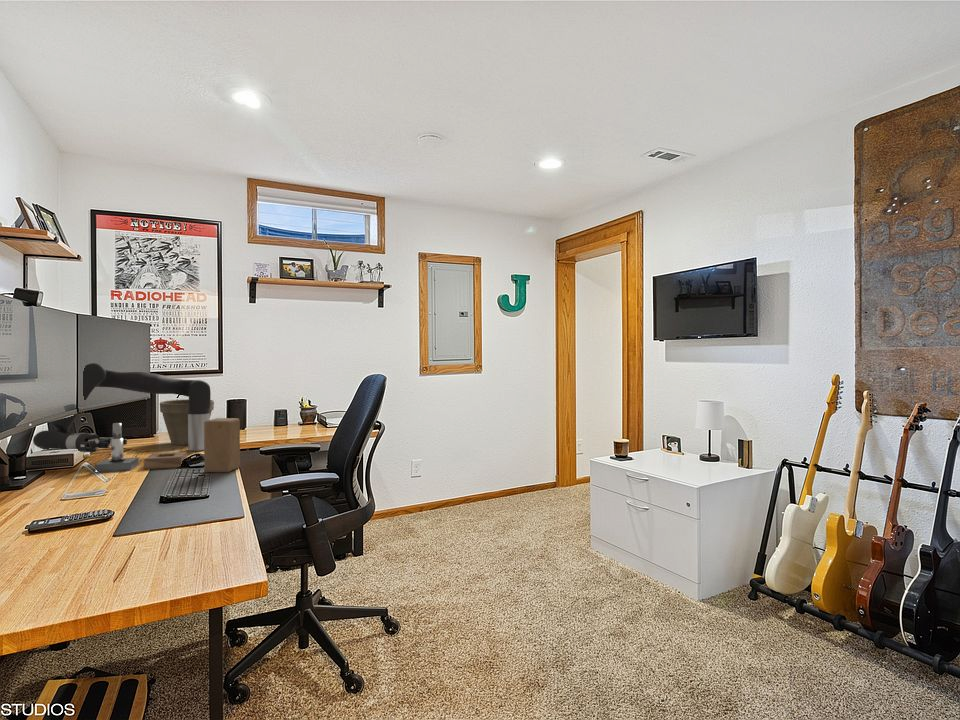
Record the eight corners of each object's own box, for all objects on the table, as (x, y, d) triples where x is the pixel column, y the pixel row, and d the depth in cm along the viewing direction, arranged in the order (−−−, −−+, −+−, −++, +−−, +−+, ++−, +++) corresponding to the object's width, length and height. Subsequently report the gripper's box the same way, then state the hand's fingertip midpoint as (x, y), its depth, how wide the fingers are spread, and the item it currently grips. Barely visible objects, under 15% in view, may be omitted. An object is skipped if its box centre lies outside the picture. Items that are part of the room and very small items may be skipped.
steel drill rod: (113, 467, 218) (112, 423, 218) (124, 467, 219) (124, 422, 219) (110, 469, 214) (109, 424, 214) (121, 469, 215) (121, 423, 215)
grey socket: (104, 466, 220) (104, 459, 220) (138, 464, 224) (138, 457, 224) (94, 472, 209) (94, 464, 209) (130, 470, 213) (130, 462, 213)
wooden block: (229, 472, 208) (228, 420, 208) (203, 472, 208) (202, 420, 208) (241, 467, 218) (240, 417, 218) (216, 467, 218) (216, 417, 218)
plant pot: (208, 445, 271) (208, 402, 271) (153, 448, 265) (152, 403, 265) (218, 438, 295) (218, 398, 295) (168, 440, 289) (167, 399, 289)
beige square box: (151, 463, 227) (151, 453, 227) (186, 461, 231) (186, 451, 231) (144, 469, 215) (144, 459, 215) (181, 466, 219) (181, 457, 219)
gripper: (66, 435, 212) (101, 436, 209) (98, 430, 226) (131, 431, 223) (66, 454, 212) (101, 456, 209) (98, 448, 226) (132, 449, 223)
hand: (117, 443), depth 216 cm, fingers open, 8 cm apart
